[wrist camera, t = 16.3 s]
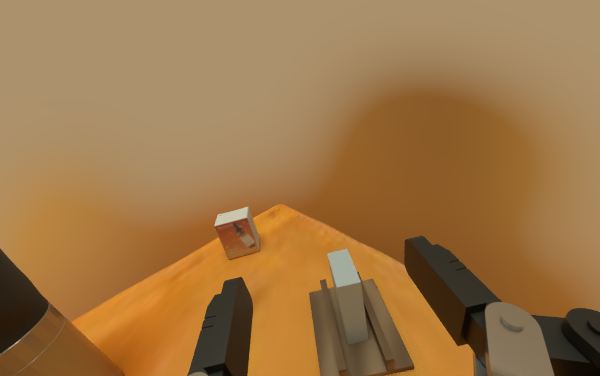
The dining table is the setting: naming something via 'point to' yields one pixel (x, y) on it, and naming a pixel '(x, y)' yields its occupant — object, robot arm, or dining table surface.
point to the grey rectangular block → (348, 296)
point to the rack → (363, 355)
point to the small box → (237, 233)
